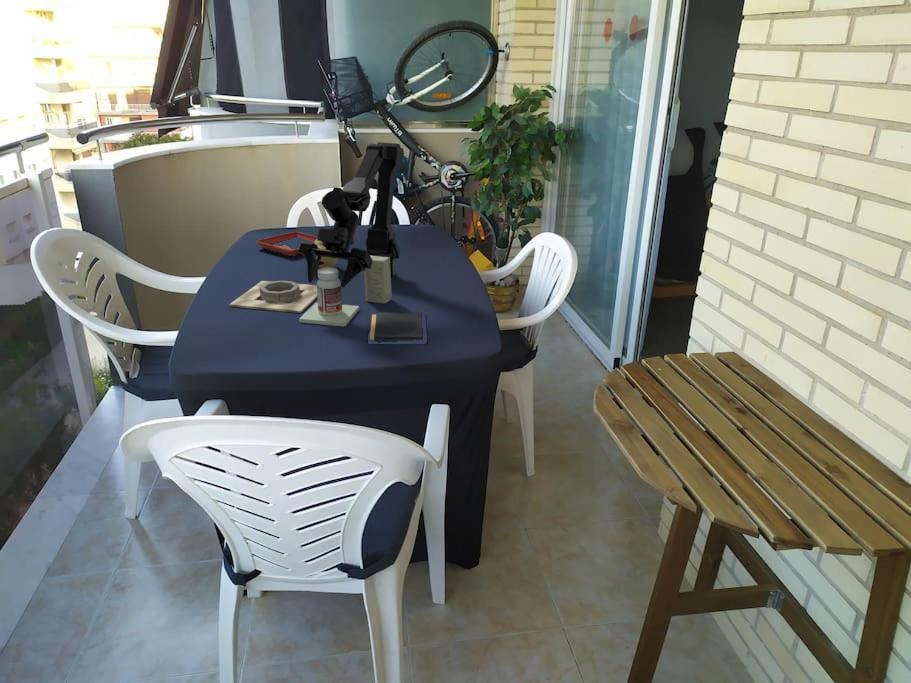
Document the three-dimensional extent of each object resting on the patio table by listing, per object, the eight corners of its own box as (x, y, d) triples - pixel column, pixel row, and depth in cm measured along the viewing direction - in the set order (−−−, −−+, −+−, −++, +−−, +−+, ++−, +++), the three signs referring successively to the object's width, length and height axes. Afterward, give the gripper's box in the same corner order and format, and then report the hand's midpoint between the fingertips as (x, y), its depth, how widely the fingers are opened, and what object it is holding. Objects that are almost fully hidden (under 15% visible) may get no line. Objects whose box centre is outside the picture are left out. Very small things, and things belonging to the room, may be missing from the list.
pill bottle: (346, 310, 169) (345, 268, 165) (334, 317, 164) (332, 275, 160) (326, 306, 172) (324, 265, 167) (313, 313, 166) (310, 271, 162)
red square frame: (296, 239, 235) (295, 230, 233) (331, 248, 225) (330, 239, 224) (255, 250, 221) (254, 240, 220) (291, 260, 212) (290, 250, 211)
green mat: (359, 309, 173) (359, 306, 172) (344, 326, 162) (344, 322, 161) (316, 305, 174) (316, 302, 174) (299, 322, 164) (299, 318, 163)
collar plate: (327, 288, 187) (326, 278, 186) (300, 313, 169) (300, 302, 168) (262, 282, 190) (261, 272, 189) (229, 306, 172) (228, 295, 171)
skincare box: (392, 299, 180) (391, 257, 175) (385, 304, 177) (384, 261, 172) (371, 296, 182) (370, 254, 177) (364, 301, 179) (362, 258, 174)
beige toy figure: (302, 275, 197) (300, 241, 193) (312, 263, 208) (310, 231, 204) (334, 276, 197) (333, 242, 193) (342, 264, 208) (341, 232, 204)
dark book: (428, 340, 153) (363, 339, 152) (428, 347, 153) (363, 347, 153) (427, 309, 171) (370, 308, 170) (427, 315, 172) (370, 315, 171)
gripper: (298, 210, 163) (279, 264, 158) (366, 217, 158) (348, 274, 153) (316, 233, 174) (297, 285, 168) (380, 241, 169) (363, 294, 164)
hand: (325, 284), depth 163 cm, fingers open, 9 cm apart
